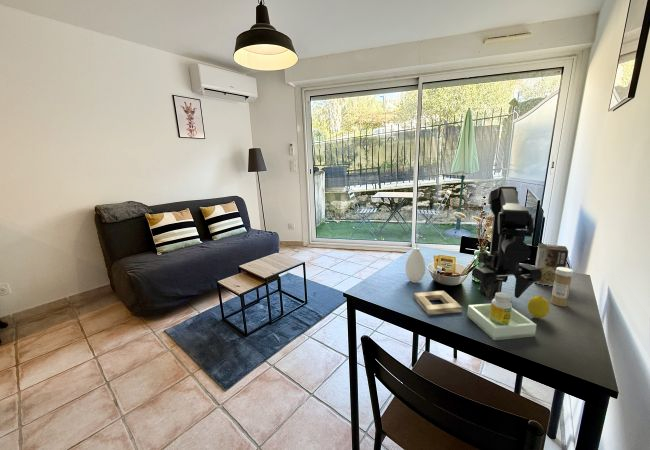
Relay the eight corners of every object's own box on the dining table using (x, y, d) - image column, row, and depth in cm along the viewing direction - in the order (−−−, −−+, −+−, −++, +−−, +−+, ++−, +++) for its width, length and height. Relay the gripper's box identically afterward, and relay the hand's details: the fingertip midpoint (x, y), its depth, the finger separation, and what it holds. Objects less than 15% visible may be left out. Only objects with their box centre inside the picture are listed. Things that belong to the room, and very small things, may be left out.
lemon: (548, 324, 88) (552, 302, 86) (526, 319, 91) (530, 297, 89) (545, 316, 92) (549, 294, 90) (525, 311, 95) (529, 290, 93)
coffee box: (559, 282, 115) (566, 246, 111) (561, 289, 110) (569, 250, 106) (532, 278, 120) (538, 242, 116) (533, 284, 115) (539, 247, 111)
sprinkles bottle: (568, 304, 99) (575, 269, 96) (563, 308, 97) (570, 272, 93) (553, 299, 103) (559, 265, 99) (547, 302, 100) (554, 268, 97)
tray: (502, 312, 95) (504, 302, 94) (534, 336, 82) (536, 324, 81) (467, 315, 94) (468, 305, 93) (493, 340, 81) (495, 328, 80)
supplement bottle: (494, 316, 91) (498, 289, 89) (512, 323, 87) (516, 296, 85) (485, 321, 88) (489, 294, 86) (503, 329, 84) (508, 301, 82)
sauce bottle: (413, 276, 125) (416, 238, 120) (428, 283, 118) (430, 243, 114) (401, 280, 121) (403, 241, 117) (415, 287, 114) (417, 246, 110)
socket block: (443, 295, 108) (443, 290, 107) (461, 311, 96) (461, 306, 95) (413, 297, 106) (414, 292, 106) (428, 314, 95) (428, 309, 94)
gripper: (517, 241, 90) (510, 284, 94) (463, 244, 89) (459, 288, 92) (547, 252, 80) (538, 301, 83) (487, 256, 78) (480, 306, 82)
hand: (502, 298), depth 85 cm, fingers open, 9 cm apart
